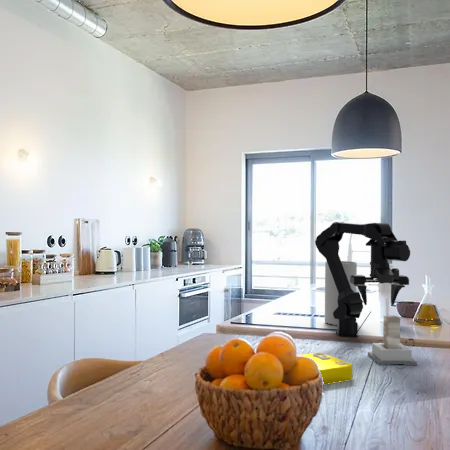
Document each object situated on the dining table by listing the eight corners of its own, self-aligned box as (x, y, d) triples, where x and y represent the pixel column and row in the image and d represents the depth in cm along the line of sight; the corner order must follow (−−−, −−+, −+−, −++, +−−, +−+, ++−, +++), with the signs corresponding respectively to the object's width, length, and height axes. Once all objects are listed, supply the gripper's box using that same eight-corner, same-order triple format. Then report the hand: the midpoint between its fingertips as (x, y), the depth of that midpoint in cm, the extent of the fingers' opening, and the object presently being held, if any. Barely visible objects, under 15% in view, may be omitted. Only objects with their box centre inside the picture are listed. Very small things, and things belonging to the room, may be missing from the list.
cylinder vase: (353, 320, 213) (354, 261, 213) (358, 326, 201) (359, 263, 201) (323, 319, 215) (323, 260, 214) (326, 325, 202) (327, 263, 202)
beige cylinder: (383, 355, 154) (383, 315, 154) (393, 354, 154) (394, 315, 154) (388, 358, 150) (389, 317, 150) (399, 357, 151) (400, 317, 151)
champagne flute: (399, 322, 211) (399, 264, 211) (386, 323, 209) (386, 264, 208) (388, 319, 217) (388, 263, 217) (375, 320, 215) (376, 263, 215)
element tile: (276, 372, 140) (276, 355, 140) (321, 366, 146) (321, 350, 146) (308, 389, 126) (308, 369, 126) (355, 381, 133) (356, 363, 133)
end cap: (378, 364, 147) (378, 351, 147) (367, 355, 158) (367, 342, 158) (416, 365, 147) (416, 351, 147) (402, 355, 158) (402, 342, 158)
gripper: (358, 261, 165) (358, 308, 166) (415, 261, 166) (415, 309, 166) (349, 258, 177) (349, 303, 177) (403, 259, 177) (402, 303, 177)
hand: (379, 305), depth 174 cm, fingers open, 9 cm apart
